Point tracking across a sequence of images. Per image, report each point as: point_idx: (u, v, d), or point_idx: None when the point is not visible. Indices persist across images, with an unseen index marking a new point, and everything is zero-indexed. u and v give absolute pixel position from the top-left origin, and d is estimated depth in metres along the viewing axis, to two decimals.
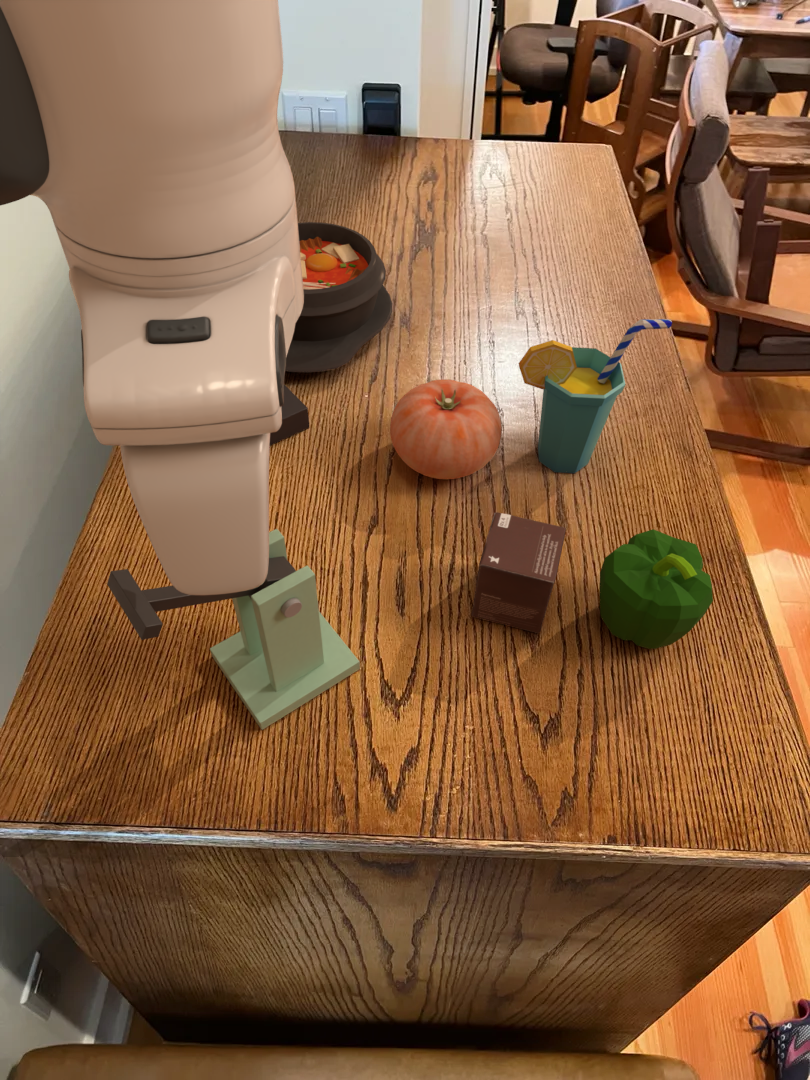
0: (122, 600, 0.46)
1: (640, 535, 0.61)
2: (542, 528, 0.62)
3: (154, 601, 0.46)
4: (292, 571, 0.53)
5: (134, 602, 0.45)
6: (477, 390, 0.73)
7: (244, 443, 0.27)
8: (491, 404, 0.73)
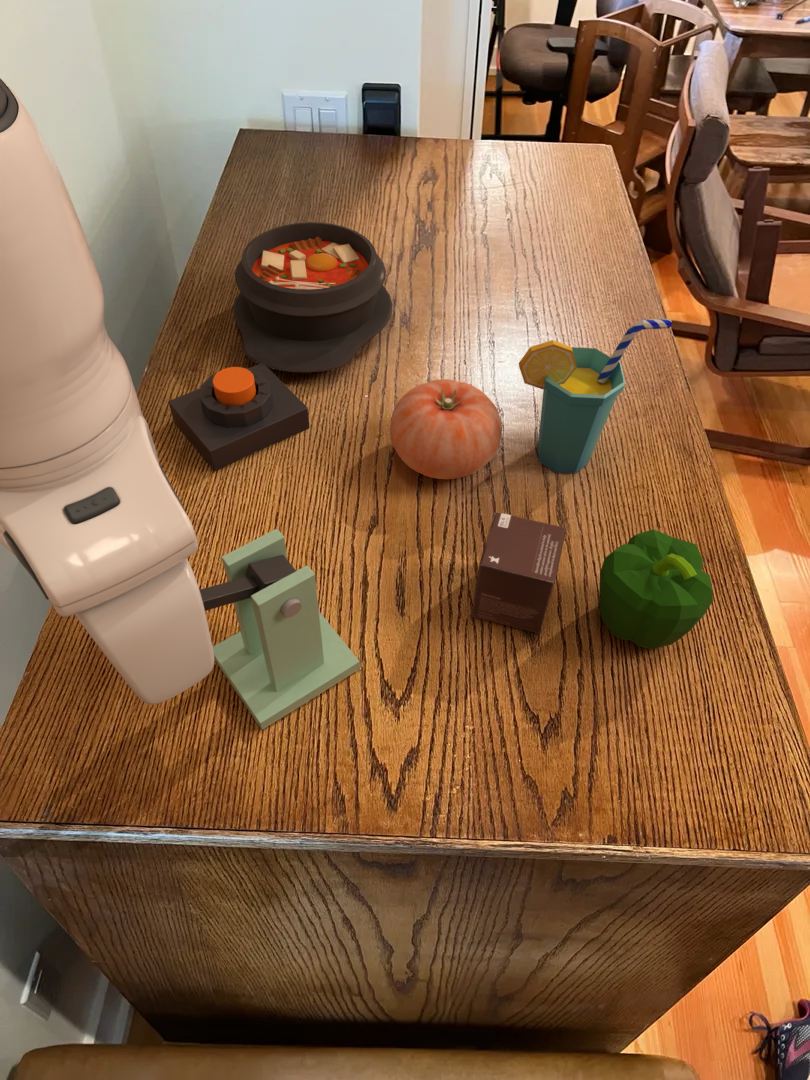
0: None
1: (640, 535, 0.61)
2: (542, 528, 0.62)
3: None
4: (291, 570, 0.53)
5: None
6: (477, 390, 0.73)
7: (174, 570, 0.34)
8: (491, 404, 0.73)
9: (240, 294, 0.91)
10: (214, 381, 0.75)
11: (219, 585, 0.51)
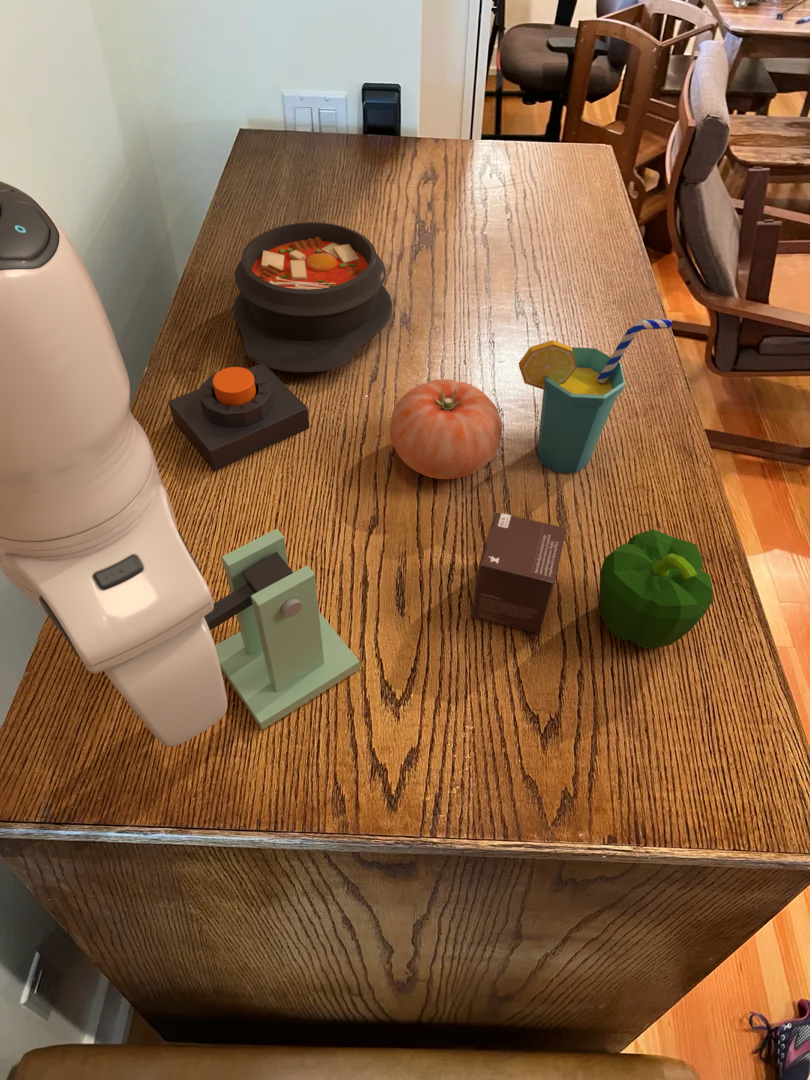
0: None
1: (640, 535, 0.61)
2: (542, 528, 0.62)
3: None
4: (284, 568, 0.52)
5: None
6: (477, 390, 0.73)
7: (192, 627, 0.37)
8: (491, 404, 0.73)
9: (240, 294, 0.91)
10: (214, 381, 0.75)
11: (217, 602, 0.52)
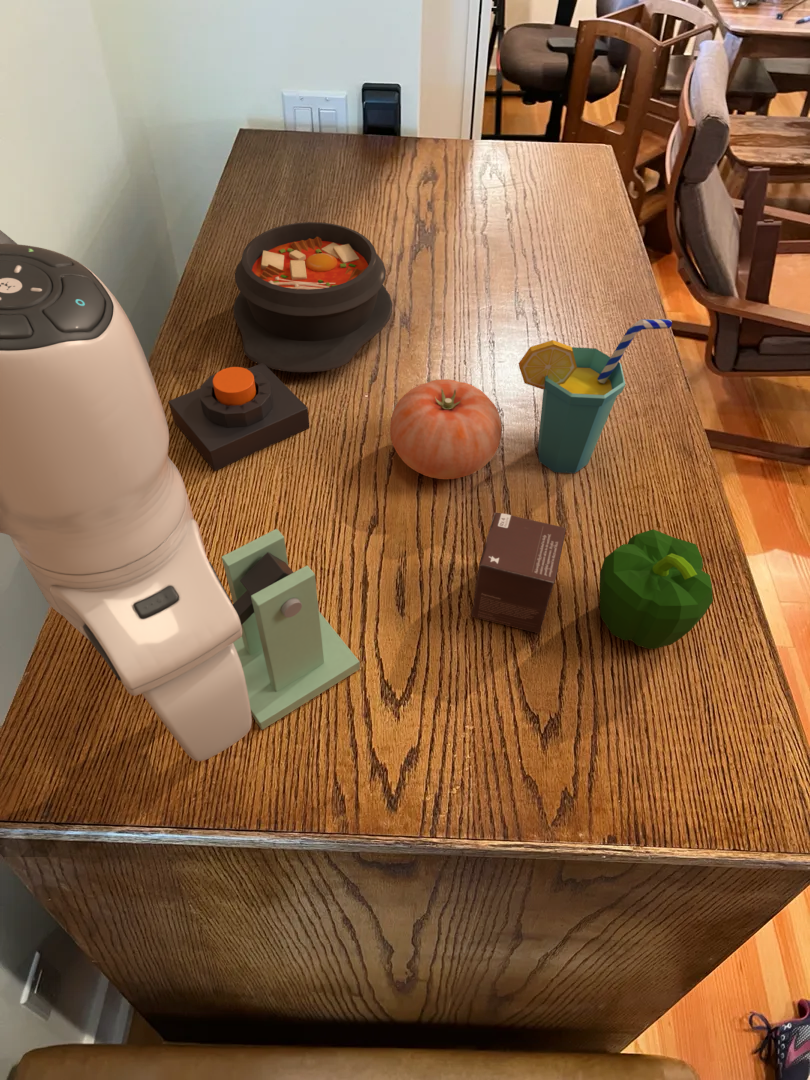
0: None
1: (640, 535, 0.61)
2: (542, 528, 0.62)
3: None
4: (276, 570, 0.52)
5: None
6: (477, 390, 0.73)
7: (222, 652, 0.40)
8: (491, 404, 0.73)
9: (240, 294, 0.91)
10: (214, 381, 0.75)
11: None
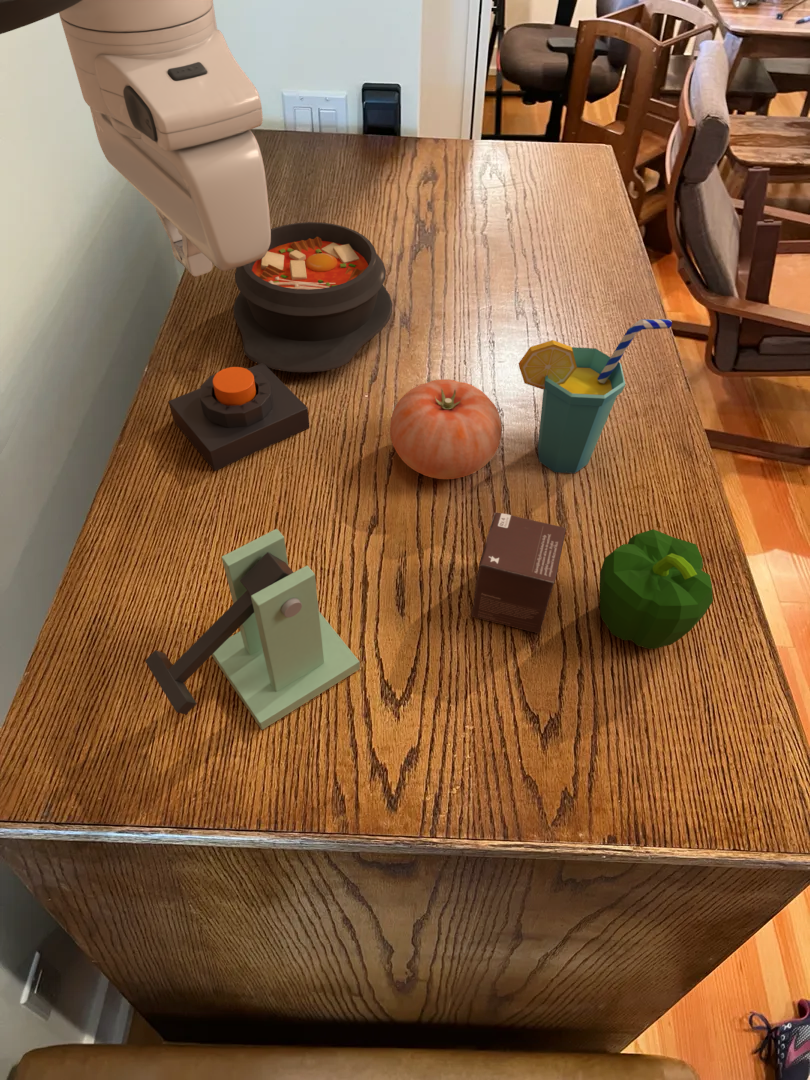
0: None
1: (640, 535, 0.61)
2: (542, 528, 0.62)
3: (179, 676, 0.53)
4: (276, 570, 0.52)
5: (165, 687, 0.53)
6: (477, 390, 0.73)
7: (245, 137, 0.45)
8: (491, 404, 0.73)
9: (240, 294, 0.91)
10: (214, 381, 0.75)
11: (225, 613, 0.53)
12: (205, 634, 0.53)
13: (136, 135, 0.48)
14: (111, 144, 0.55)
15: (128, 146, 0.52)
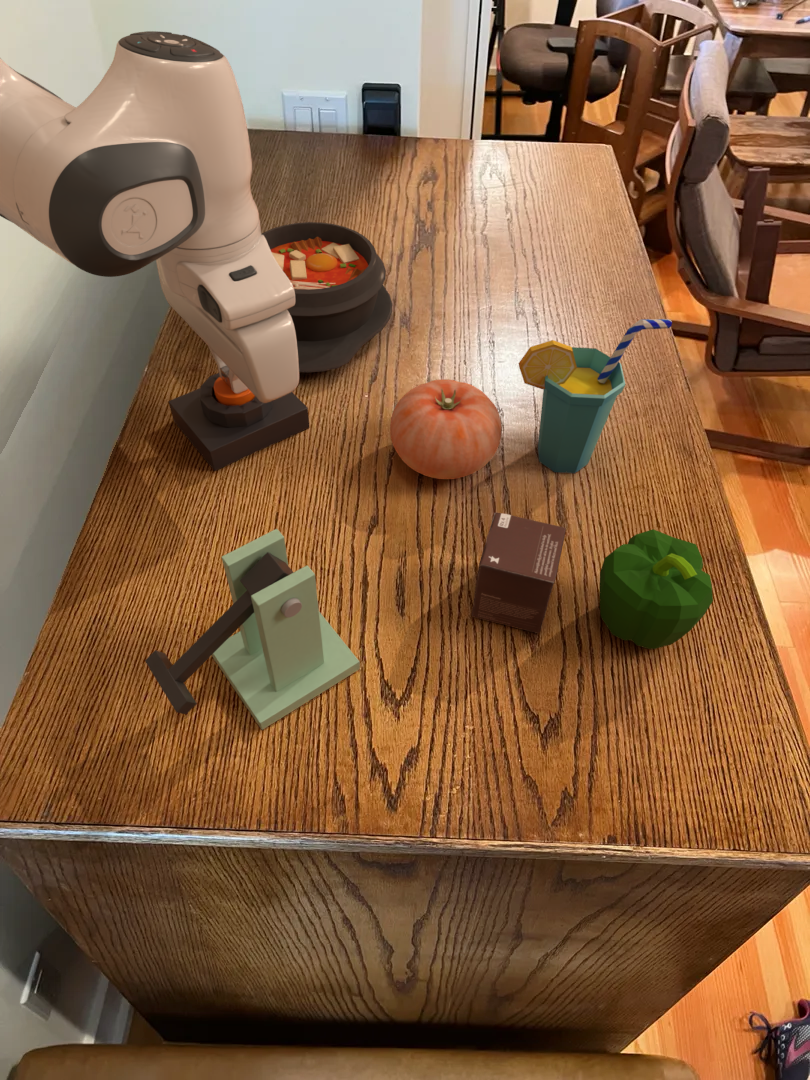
0: None
1: (640, 535, 0.61)
2: (542, 528, 0.62)
3: (179, 676, 0.53)
4: (276, 570, 0.52)
5: (165, 687, 0.53)
6: (477, 390, 0.73)
7: (282, 315, 0.63)
8: (491, 404, 0.73)
9: None
10: (215, 386, 0.75)
11: (225, 613, 0.53)
12: (205, 634, 0.53)
13: None
14: (174, 296, 0.73)
15: (190, 303, 0.70)
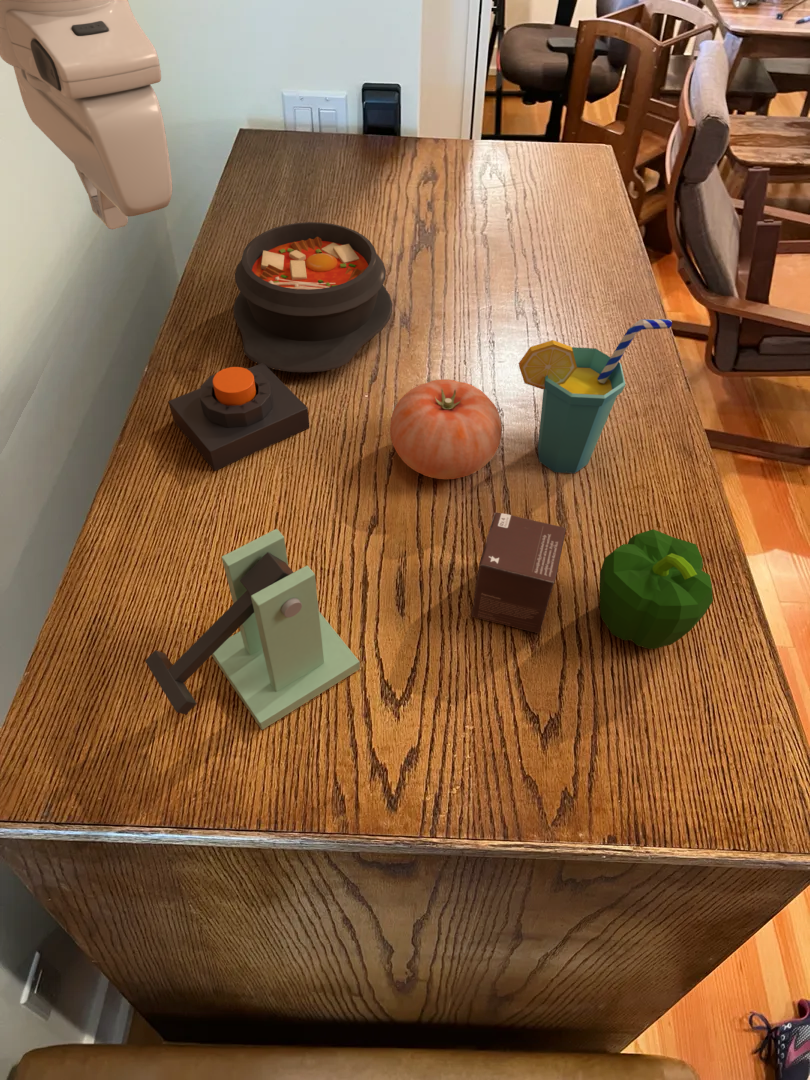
0: None
1: (640, 535, 0.61)
2: (542, 528, 0.62)
3: (179, 676, 0.53)
4: (276, 570, 0.52)
5: (165, 687, 0.53)
6: (477, 390, 0.73)
7: (144, 91, 0.50)
8: (491, 404, 0.73)
9: (240, 294, 0.91)
10: (214, 381, 0.75)
11: (225, 613, 0.53)
12: (205, 634, 0.53)
13: (48, 89, 0.52)
14: (33, 104, 0.59)
15: (46, 103, 0.57)
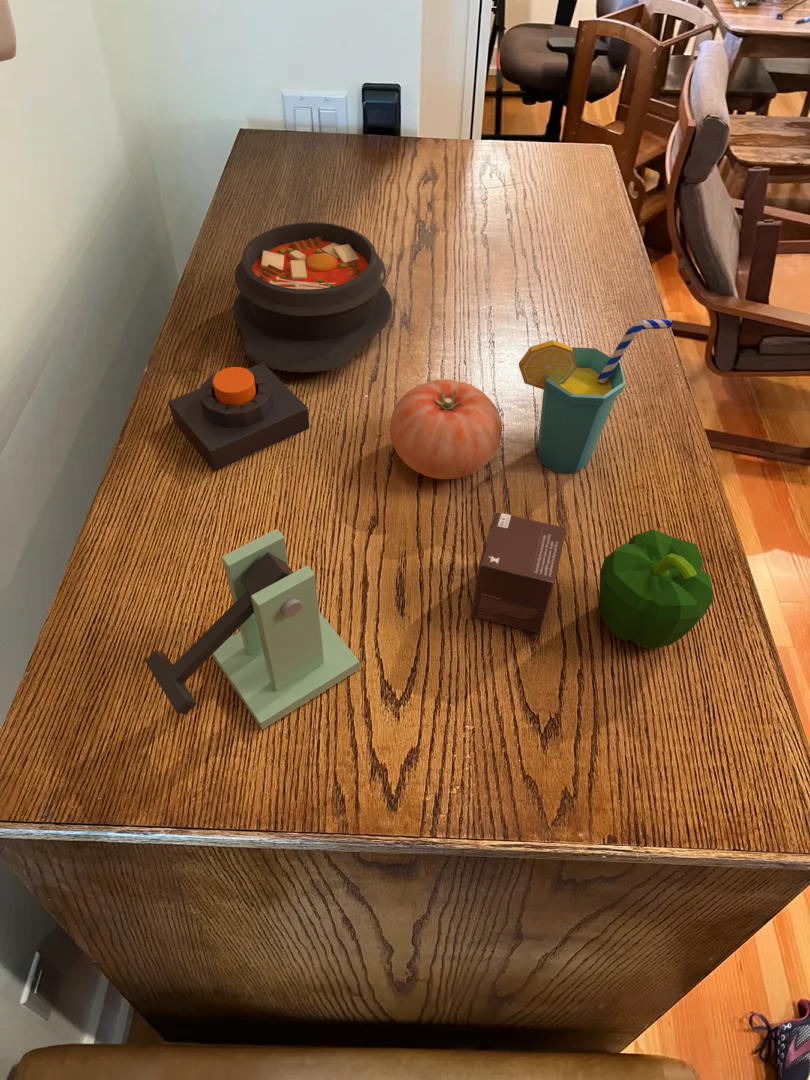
0: None
1: (640, 535, 0.61)
2: (542, 528, 0.62)
3: (179, 676, 0.53)
4: (276, 570, 0.52)
5: (165, 687, 0.53)
6: (477, 390, 0.73)
7: None
8: (491, 404, 0.73)
9: (240, 294, 0.91)
10: (214, 381, 0.75)
11: (225, 613, 0.53)
12: (205, 634, 0.53)
13: None
14: None
15: None
